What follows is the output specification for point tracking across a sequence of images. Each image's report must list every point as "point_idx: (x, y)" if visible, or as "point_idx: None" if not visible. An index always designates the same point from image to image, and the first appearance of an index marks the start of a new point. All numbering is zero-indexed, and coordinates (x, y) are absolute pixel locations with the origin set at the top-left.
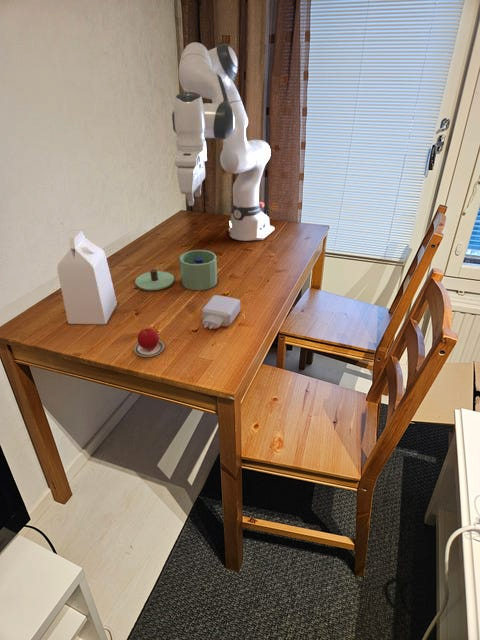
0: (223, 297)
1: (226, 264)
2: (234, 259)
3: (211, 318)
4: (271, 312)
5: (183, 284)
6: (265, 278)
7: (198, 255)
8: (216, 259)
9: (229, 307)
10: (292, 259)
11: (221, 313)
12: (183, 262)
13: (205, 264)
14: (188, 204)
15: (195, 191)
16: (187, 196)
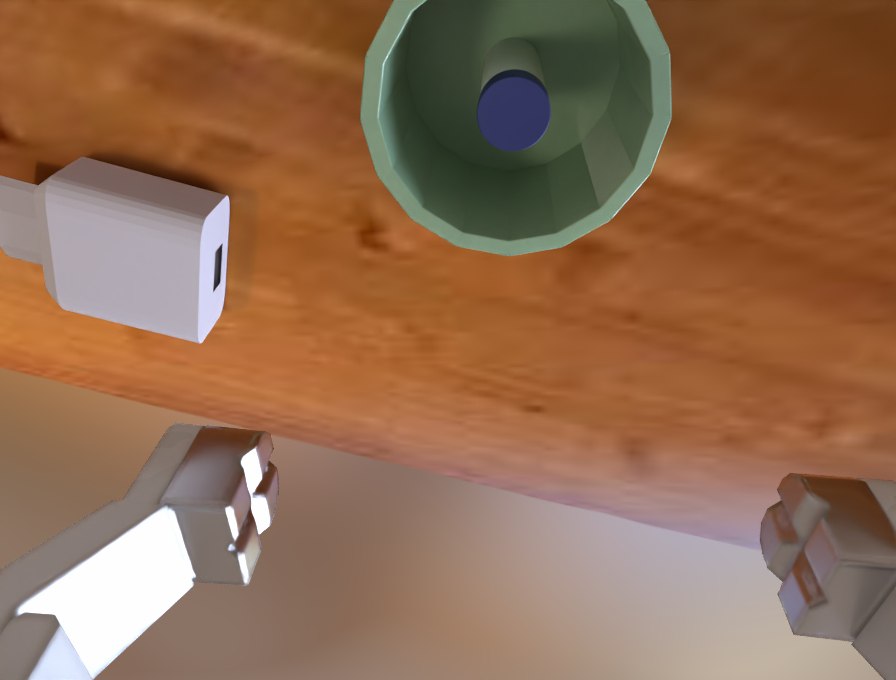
0: (187, 278)
1: (763, 210)
2: (832, 252)
3: (20, 228)
4: (261, 413)
5: None
6: (559, 400)
7: (643, 86)
8: (504, 250)
9: (107, 310)
10: (761, 503)
11: (48, 278)
12: (398, 4)
13: (391, 192)
14: (173, 435)
15: (833, 573)
16: (8, 593)
